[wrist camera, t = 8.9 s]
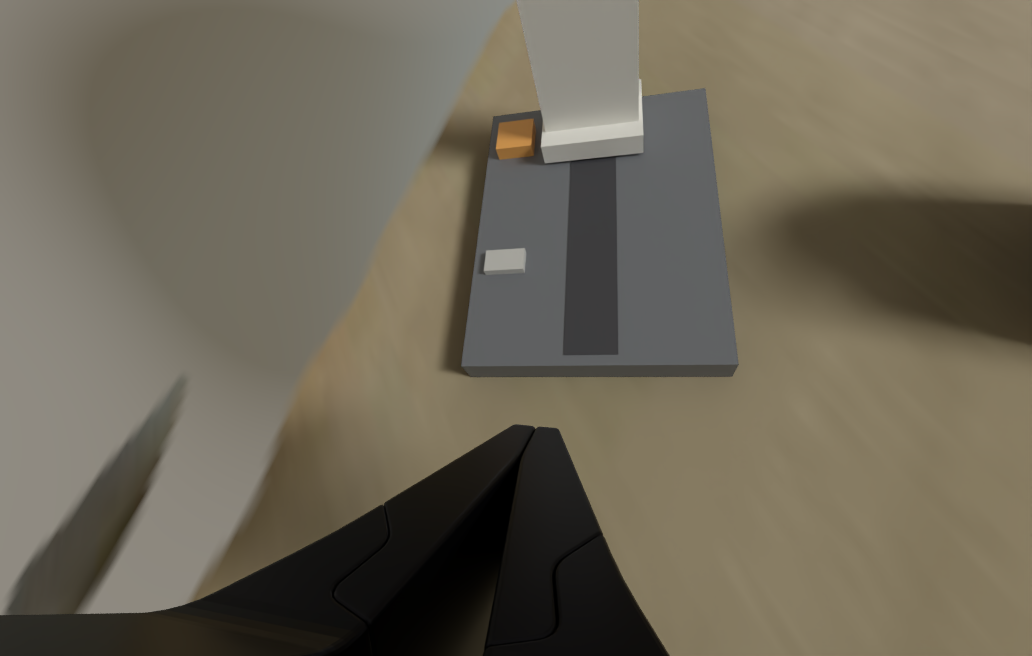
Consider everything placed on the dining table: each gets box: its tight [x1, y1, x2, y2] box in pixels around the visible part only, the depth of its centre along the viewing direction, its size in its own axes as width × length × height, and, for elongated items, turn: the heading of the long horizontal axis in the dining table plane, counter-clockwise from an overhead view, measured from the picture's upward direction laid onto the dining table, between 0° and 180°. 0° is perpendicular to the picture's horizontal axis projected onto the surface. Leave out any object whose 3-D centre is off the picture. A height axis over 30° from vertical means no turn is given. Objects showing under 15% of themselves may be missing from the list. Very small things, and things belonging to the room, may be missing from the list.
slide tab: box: [517, 0, 643, 163], centre depth 22 cm, size 4×5×10 cm
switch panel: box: [461, 88, 739, 377], centre depth 25 cm, size 16×12×2 cm
